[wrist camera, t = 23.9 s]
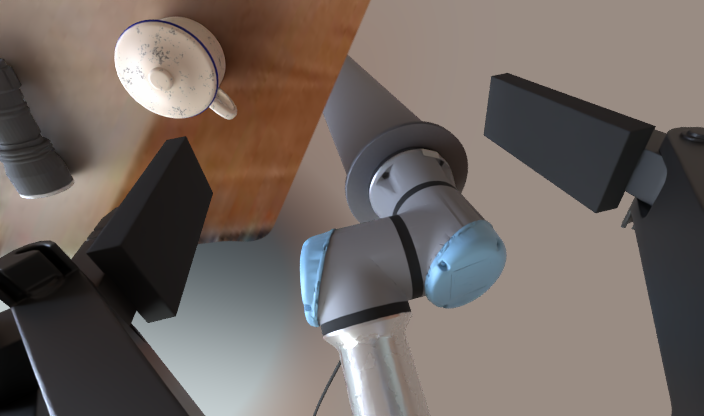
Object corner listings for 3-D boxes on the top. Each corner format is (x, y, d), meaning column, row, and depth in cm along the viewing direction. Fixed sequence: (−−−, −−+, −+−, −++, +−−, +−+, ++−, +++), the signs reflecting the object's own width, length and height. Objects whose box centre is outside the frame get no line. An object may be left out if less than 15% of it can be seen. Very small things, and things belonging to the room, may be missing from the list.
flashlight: (-42, 53, 33) (-89, 62, 29) (17, 53, 34) (-20, 62, 30) (36, 179, 42) (9, 200, 38) (82, 176, 43) (60, 197, 39)
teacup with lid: (128, 54, 36) (77, 77, 27) (175, -7, 34) (138, -5, 25) (217, 126, 43) (201, 164, 34) (262, 78, 41) (258, 105, 31)
